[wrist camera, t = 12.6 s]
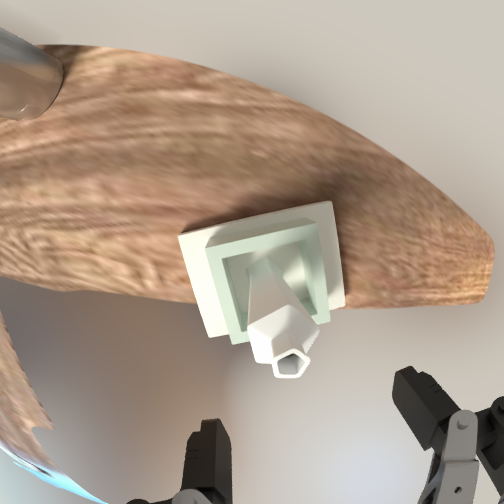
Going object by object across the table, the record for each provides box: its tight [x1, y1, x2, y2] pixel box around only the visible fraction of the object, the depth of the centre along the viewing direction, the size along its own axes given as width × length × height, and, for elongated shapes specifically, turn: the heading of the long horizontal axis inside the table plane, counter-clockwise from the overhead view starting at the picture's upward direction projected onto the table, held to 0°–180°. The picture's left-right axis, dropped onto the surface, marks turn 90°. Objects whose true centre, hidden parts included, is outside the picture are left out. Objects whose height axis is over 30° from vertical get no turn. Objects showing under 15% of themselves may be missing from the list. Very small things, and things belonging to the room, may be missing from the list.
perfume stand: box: [178, 201, 345, 344], centre depth 27 cm, size 16×12×6 cm
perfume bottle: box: [246, 257, 320, 378], centre depth 21 cm, size 5×4×15 cm
